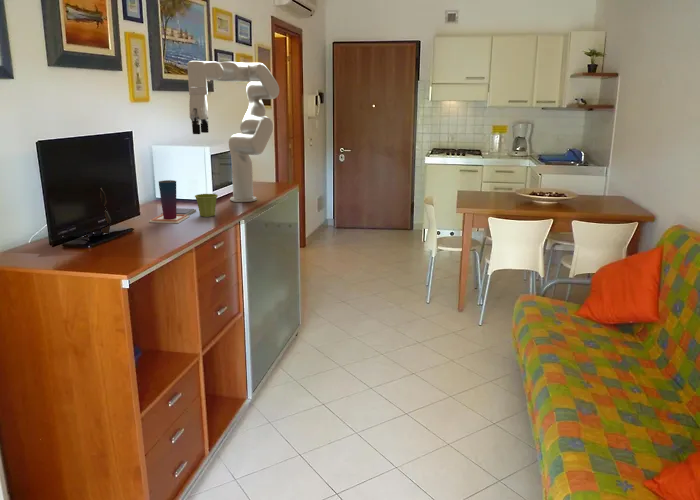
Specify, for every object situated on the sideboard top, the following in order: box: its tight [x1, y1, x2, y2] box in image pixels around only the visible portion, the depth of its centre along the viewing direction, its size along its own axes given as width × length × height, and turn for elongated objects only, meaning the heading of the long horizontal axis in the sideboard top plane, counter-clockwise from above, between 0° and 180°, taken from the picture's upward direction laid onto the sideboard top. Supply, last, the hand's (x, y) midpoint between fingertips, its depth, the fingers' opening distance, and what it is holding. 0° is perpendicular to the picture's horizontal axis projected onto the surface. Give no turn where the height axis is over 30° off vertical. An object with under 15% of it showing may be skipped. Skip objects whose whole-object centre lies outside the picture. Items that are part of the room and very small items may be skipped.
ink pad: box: [160, 207, 197, 216], centre depth 242 cm, size 11×11×1 cm
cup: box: [158, 179, 177, 219], centre depth 228 cm, size 7×7×15 cm
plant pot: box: [194, 193, 219, 218], centre depth 237 cm, size 9×9×9 cm
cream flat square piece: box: [148, 214, 190, 224], centre depth 230 cm, size 12×12×1 cm
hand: (200, 133), depth 242 cm, fingers open, 9 cm apart
